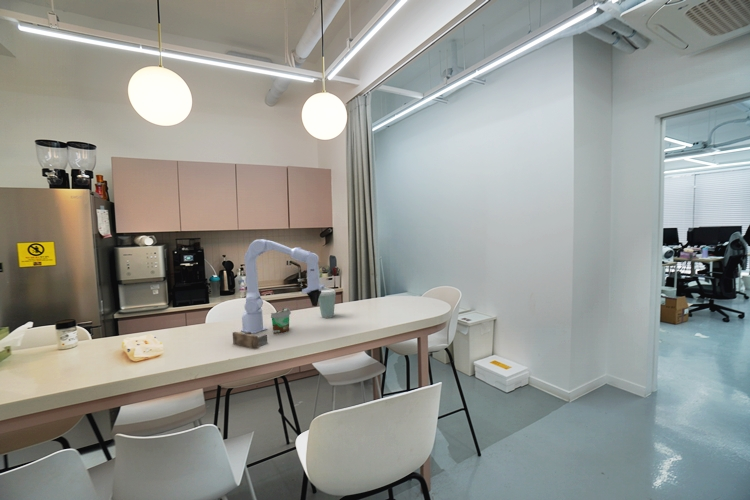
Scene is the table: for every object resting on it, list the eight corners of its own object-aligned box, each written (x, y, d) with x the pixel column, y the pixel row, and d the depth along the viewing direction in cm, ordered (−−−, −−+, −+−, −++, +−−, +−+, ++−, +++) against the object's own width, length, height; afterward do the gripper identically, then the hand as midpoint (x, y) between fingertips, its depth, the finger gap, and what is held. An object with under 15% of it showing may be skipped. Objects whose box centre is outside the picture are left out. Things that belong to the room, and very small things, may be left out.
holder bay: (233, 344, 141) (232, 332, 141) (247, 338, 147) (246, 327, 147) (256, 348, 134) (255, 336, 134) (269, 343, 140) (269, 331, 140)
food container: (284, 335, 151) (283, 313, 150) (271, 335, 152) (270, 313, 151) (296, 327, 163) (294, 307, 162) (284, 327, 164) (283, 307, 163)
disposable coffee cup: (341, 315, 183) (339, 288, 182) (328, 320, 174) (326, 291, 173) (326, 313, 188) (325, 287, 187) (313, 317, 179) (311, 290, 178)
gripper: (309, 280, 153) (311, 309, 153) (329, 276, 165) (330, 303, 166) (298, 280, 156) (299, 308, 157) (318, 275, 169) (319, 302, 170)
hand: (314, 305), depth 162 cm, fingers closed
